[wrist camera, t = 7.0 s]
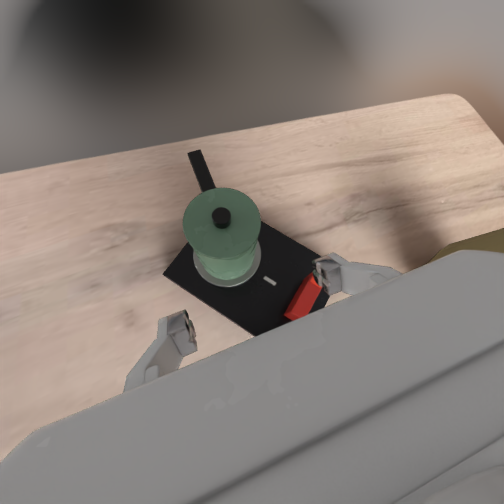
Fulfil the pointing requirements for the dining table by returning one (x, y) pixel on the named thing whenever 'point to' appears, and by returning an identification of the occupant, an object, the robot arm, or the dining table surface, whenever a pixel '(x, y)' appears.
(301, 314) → the knob
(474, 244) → the squeeze bottle
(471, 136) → the dining table surface
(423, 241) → the dining table surface
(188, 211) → the saucepan
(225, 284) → the burner
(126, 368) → the dining table surface
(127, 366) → the dining table surface
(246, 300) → the hob
